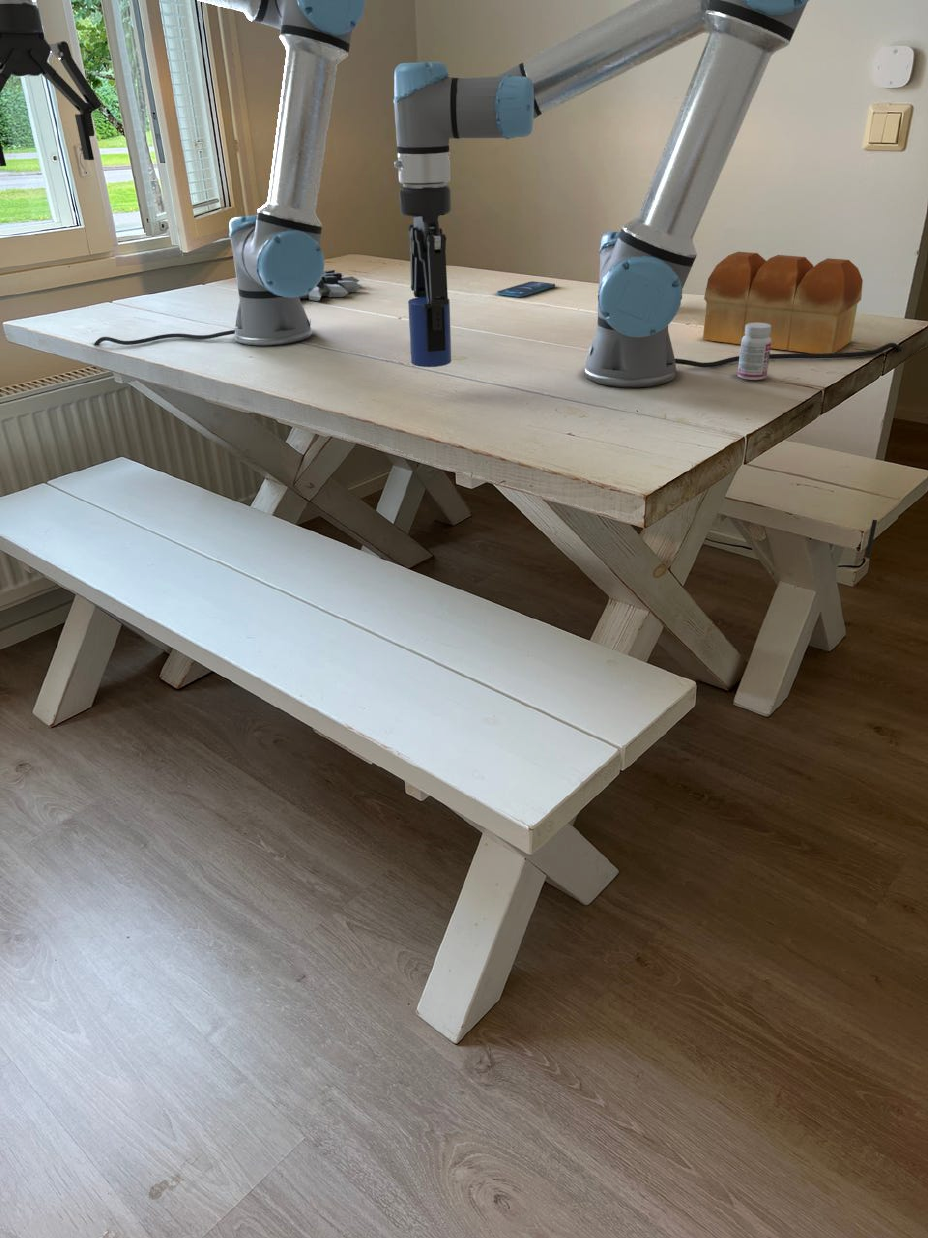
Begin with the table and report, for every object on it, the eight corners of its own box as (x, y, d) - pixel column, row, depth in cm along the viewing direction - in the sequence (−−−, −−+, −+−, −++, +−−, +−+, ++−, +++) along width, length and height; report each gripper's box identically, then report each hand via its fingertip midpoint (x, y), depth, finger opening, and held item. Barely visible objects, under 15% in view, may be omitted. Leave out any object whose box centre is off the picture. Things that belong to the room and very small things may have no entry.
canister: (413, 368, 147) (410, 305, 142) (409, 357, 152) (406, 297, 148) (453, 365, 147) (452, 303, 143) (448, 355, 153) (446, 295, 148)
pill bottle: (768, 380, 155) (775, 328, 150) (738, 380, 155) (744, 328, 151) (765, 372, 159) (772, 321, 155) (736, 372, 160) (742, 321, 155)
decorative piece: (302, 291, 211) (212, 280, 226) (304, 309, 213) (214, 296, 228) (388, 270, 232) (300, 260, 247) (389, 286, 234) (302, 276, 249)
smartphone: (494, 291, 222) (531, 280, 232) (494, 294, 222) (531, 283, 232) (521, 295, 218) (557, 283, 228) (521, 297, 218) (557, 286, 228)
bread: (700, 339, 180) (707, 257, 172) (725, 326, 188) (734, 247, 181) (832, 356, 167) (847, 268, 159) (853, 341, 175) (868, 257, 168)
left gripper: (-76, -1, 130) (-32, 169, 141) (103, 2, 143) (131, 158, 154) (-87, 3, 135) (-44, 167, 146) (86, 6, 148) (115, 156, 159)
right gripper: (385, 180, 144) (394, 333, 156) (414, 192, 128) (422, 362, 140) (433, 178, 146) (438, 329, 158) (467, 189, 130) (470, 357, 141)
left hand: (46, 162), depth 150 cm, fingers open, 13 cm apart
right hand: (430, 344), depth 149 cm, fingers closed on canister, 6 cm apart
